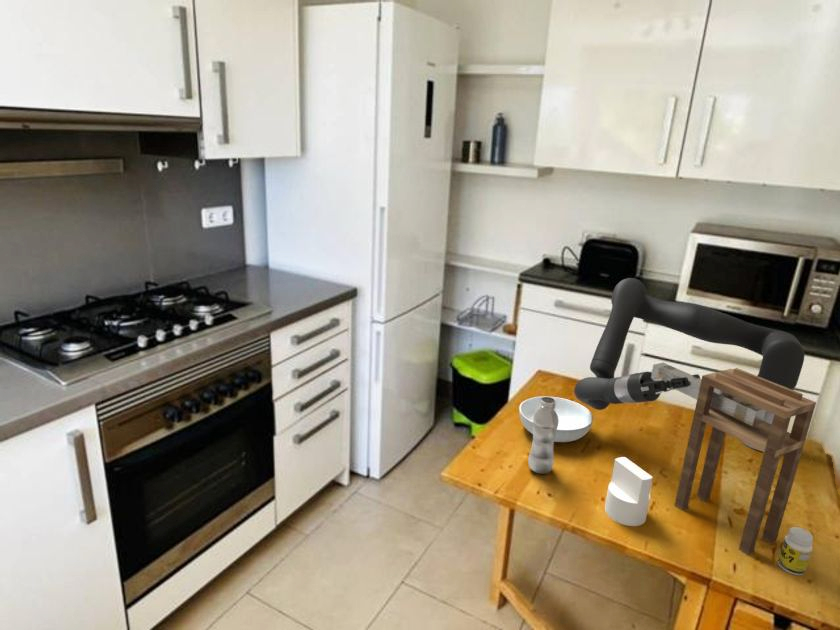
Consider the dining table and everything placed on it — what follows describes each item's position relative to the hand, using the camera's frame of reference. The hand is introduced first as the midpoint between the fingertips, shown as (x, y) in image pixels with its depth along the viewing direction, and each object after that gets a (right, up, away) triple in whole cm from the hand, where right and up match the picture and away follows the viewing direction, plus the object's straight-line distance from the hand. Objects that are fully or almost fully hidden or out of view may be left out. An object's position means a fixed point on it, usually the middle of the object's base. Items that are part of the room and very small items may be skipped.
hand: (693, 380), depth 128 cm
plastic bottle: (-32, -25, +15) cm, 43 cm away
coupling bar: (+1, -4, -2) cm, 4 cm away
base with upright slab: (-16, -31, -1) cm, 35 cm away
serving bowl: (-25, -19, +33) cm, 46 cm away
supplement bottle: (+12, -37, -15) cm, 41 cm away
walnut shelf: (+5, -32, -3) cm, 32 cm away
